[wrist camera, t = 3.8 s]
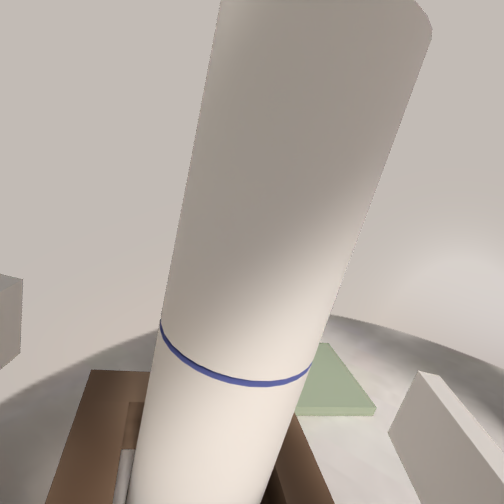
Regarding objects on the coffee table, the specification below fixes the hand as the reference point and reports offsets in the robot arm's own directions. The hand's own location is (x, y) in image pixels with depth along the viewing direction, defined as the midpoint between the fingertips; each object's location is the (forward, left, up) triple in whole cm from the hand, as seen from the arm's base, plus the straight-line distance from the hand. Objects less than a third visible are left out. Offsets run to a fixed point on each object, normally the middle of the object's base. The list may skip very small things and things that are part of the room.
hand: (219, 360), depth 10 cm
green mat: (-15, -16, -14) cm, 26 cm away
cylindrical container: (-2, -4, -14) cm, 14 cm away
